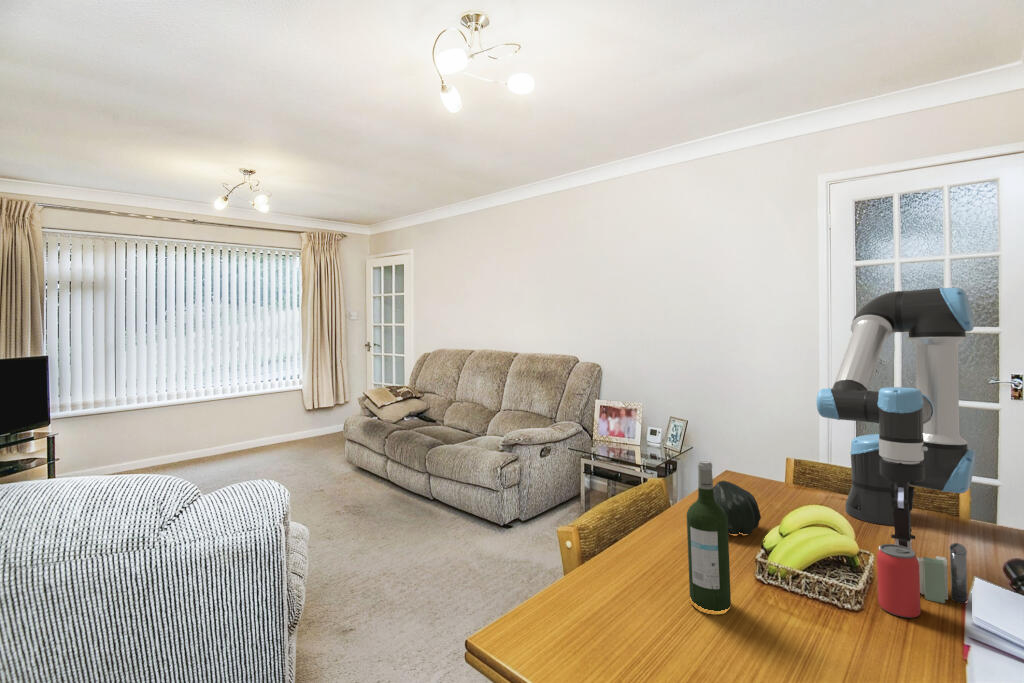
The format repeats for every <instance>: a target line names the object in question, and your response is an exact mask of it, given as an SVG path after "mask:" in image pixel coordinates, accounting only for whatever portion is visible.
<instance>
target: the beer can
mask: <svg viewBox="0 0 1024 683" xmlns="http://www.w3.org/2000/svg"><path fill="white" fill-rule="evenodd" d="M879 546H880V550H879V549H878V553H877V555H876V565H877V566H876V568H877V569H876V570H877V571H876V572H877V599H878V601H877V602H878V605H879V606H880V607H881V608H882V609H883V611H885V612H888V613H890V614H891V615H893V616H897V617H900V618H907V619H913V618H917V617H919V616H920V615H921V612H922V611H921V594H920V573H919V563H918V560H917V558H916V557H917V556H916V552H915V551H914V550H913V549H912V550H911V549H909V548H907V547H904V546H900V545H895V543H894V544H893V543H892V544H891V543H885V544H881V545H879Z"/></svg>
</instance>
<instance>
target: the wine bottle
mask: <svg viewBox="0 0 1024 683" xmlns="http://www.w3.org/2000/svg"><path fill="white" fill-rule="evenodd" d="M712 469H713V464H712V461H711V460H708V459H700V460H698V462H697V470H698V472H697V473H698V475H697V476H698V484H697V485H698V486H697V487H698V492H697V493H698V495H697V496H698V497H697V500H696V501H695V502H694V503H692V504H691V505H690V506H689V507H688V509H687V512H686V530H687V531H686V532H687V560H688V582H689V598H690V597H691V599H692V601H693V602H694V603H696V604H697V605H698V606H701V607H702V608H704V609H708V610H714V611H721V610H725V609H728V608H729V607H730V605H731V606H732V602H731V601H732V600H731V572H730V547H729V546H730V545H729V534H728V517H727V514H726V513H725V511H724V509H723V508H722V507H721V506H720V505H719V504H717V503H716V502H715V499H714V491H713V487H714V480H713V479H714V478H713V470H712Z"/></svg>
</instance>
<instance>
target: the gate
mask: <svg viewBox="0 0 1024 683" xmlns="http://www.w3.org/2000/svg"><path fill="white" fill-rule="evenodd" d="M880 546H881V545H879V546H878V551H879V550H880ZM916 558H917V560H918V563H919V573H920V593H921V594H920V595H923V594H924V565H923V558H922V557H917V556H916ZM935 559H939V560H943V563H944V588H945V600H949V578H948V559H947V558H946V557H944V556H938V555H935Z"/></svg>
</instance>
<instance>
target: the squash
mask: <svg viewBox="0 0 1024 683" xmlns="http://www.w3.org/2000/svg"><path fill="white" fill-rule="evenodd" d="M713 491H714V499H715V502H716V503H717V504H719V505H720V506H721V507H722V508H723V509H724V511H725V513H726V514H727V517H728V533H730V534H738V535H740V534H739V532H740V533H743V534H750V535H751V534H752V532H753V530H755V529H757V528H758V527H759V525H760V521H761V518H762V516H761V512H760V509H759V505H758V502H757V500H756V498H755V496H754V495H753V494H752V493H751V492H750V491H748V490H746V489H744V488H742V487H740V486H739V485H737V484H734V483H732V482H731V481H730V482H729V481H726V480H719V481H718V482H717V483H716V484H715V485H713Z"/></svg>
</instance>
